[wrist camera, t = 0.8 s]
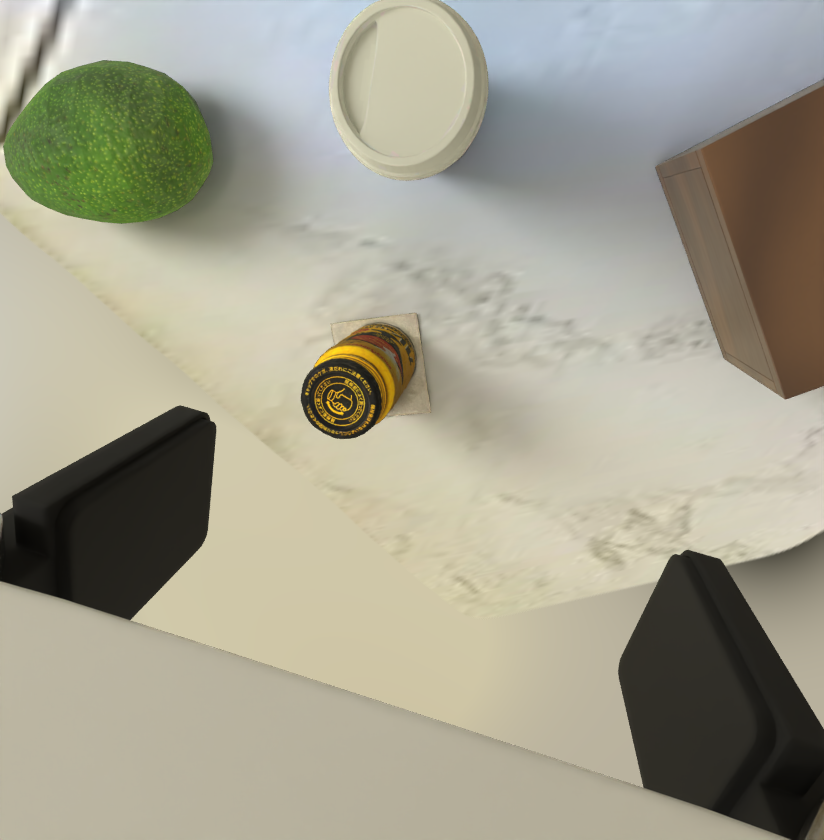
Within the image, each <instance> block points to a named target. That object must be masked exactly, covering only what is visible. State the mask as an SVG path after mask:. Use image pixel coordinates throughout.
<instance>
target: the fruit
mask: <svg viewBox="0 0 824 840" xmlns="http://www.w3.org/2000/svg"><path fill="white" fill-rule="evenodd" d="M3 148H4V155H5V161H6V166H7V168H8V170H9V172H10V174H11V176H12V178H13V179H14V180H15V182H16V183H17V184H18V185H19V186H20V187H21V189H22V190H23V191H24V192H25V193H26V195H28V196H29V197H30V198H31V199H32V200H34V201H36V202H38V203H39V204H41V205H43V206H45V207H47V208H50V209H52V210H55V211H57V212H60V213H62V214H65V215H69V216H73V217H78V218H83V219H88V220H94V221H99V222H108V223H120V224H122V223H133V222H144V221H148V220H153V219H157V218H160V217H163V216H165V215H167V214H170V213H172V212H174V211H177V210H178V209H180V208H181V207H183V206H184V205H185V204H187V203H188V202H190V201H191V200H192V199H193V198H194V196H195V195H196V194H197V192H198V191H199V189H200V188H201V186H202V185H203V184H204V182H205V180H206V178H207V177H208V175H209V173H210V170H211V167H212V164H213V154H212V146H211V140H210V134H209V131H208V129H207V126H206V124H205V121H204V119H203V117H202V114H201V112H200V110H199V108H198V106H197V103H196V101H195V100H194V99H193V98H192V96H191V95H190V94H189V93H188V92H187V91H186V90H185V89H184V87H183V86H181V85H180V84H179V83H177V82H176V81H174V80H173V79H172V78H170V77H169V76H168V75H166V74H164V73H162V72H159V71H156V70H153V69H150V68H147V67H145V66H141V65H138V64H134V63H130V62H122V61H107V60H103V61H99V62H95V63H91V64H87V65H83V66H79V67H76V68H73V69H70V70H67V71H64V72H61V73H60V74H59V75H57V76H56V77H55V78H53V79H52V80H50V81H49V82H48V83H46V84H45V85H44V86H43V87H42V88H41V90H40V91H39V92H38V93H37V94H36V95H35V96H34V97H33V99H32V100H31V101H30V102H29V104H28V105H27V106H26V107H25V109H24V110H23V111H22V113H21V114H20V115H19V117H18V118H17V119H16V121H15V122H14V124H13V125H12V127H11V128H10V130H9V132H8V134H7V136H6V140H5V143H4V146H3Z"/></svg>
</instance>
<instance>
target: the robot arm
mask: <svg viewBox="0 0 824 840" xmlns="http://www.w3.org/2000/svg"><path fill="white" fill-rule="evenodd" d="M215 439H216V425H215V423H214V422H212V421H210V417H209V415H208V414H207V413H205V412H201V411H198V410H194V409H191V408H188V407H184V406H177V407H175V408H173V409H171V410H169V411H167V412H165V413H164V414H162V415H160V416H158V417H156V418H154V419H153V420H151V421H149V422H147V423H146V424H143V425H142V426H140V427H138V428H136V429H135V430H133V431H131V432H129V433H127V434H125V435H123V436H122V437H120V438H118V439H116V440H114V441H112V442H111V443H109V444H107V445H105V446H104V447H101V448H100V449H98V450H96V451H94V452H92V453H90V454H89V455H87V456H85V457H83V458H81V459H79V460H78V461H76V462H74V463H72V464H71V465H69V466H67V467H65V468H63V469H61V470H59V471H57V472H56V473H54V474H52V475H50V476H48V477H46V478H45V479H43V480H41V481H39V482H37V483H36V484H34V485H32V486H30V487H28V488H26V489H25V490H23V491H21V492H19V493H17V494H15V495H14V496H12V500H13V508H11V509H9V510H8V511H6V512H4V513H3V514H1V513H0V840H824V729H823V727H822V726H821V724H820V722H819V721H818V719H817V717H816V716H815V714H814V712H813V711H812V709H811V707H810V706H809V704H808V702H807V701H806V699H805V697H804V696H803V694H802V693H801V691H800V689H799V688H798V686H797V684H796V683H795V681H794V679H793V678H792V676H791V674H790V673H789V671H788V669H787V668H786V666H785V664H784V663H783V661H782V659H781V658H780V656H779V654H778V653H777V651H776V650H775V648H774V646H773V645H772V643H771V641H770V640H769V638H768V636H767V635H766V633H765V631H764V630H763V628H762V626H761V625H760V623H759V622H758V620H757V618H756V617H755V615H754V613H753V612H752V610H751V608H750V607H749V605H748V603H747V602H746V600H745V599H744V597H743V595H742V593H741V592H740V590H739V588H738V587H737V585H736V584H735V582H734V580H733V579H732V577H731V575H730V574H729V572H728V570H727V569H726V567H725V565H724V564H723V562H722V561H721V560H720V559H718V558H714V557H711V556H707V555H704V554H700V553H697V552H693V551H690V550H686V551H684V552H683V553H682V554H681V555H677V554H675V555H673V556H672V557H671V558H670V559H669V561H668V563H667V565H666V567H665V569H664V571H663V573H662V575H661V577H660V579H659V581H658V583H657V585H656V587H655V589H654V591H653V593H652V595H651V597H650V600H649V602H648V604H647V605H646V607H645V610H644V612H643V614H642V616H641V618H640V620H639V622H638V624H637V626H636V628H635V630H634V632H633V634H632V636H631V638H630V640H629V642H628V644H627V646H626V648H625V650H624V652H623V654H622V657H621V659H620V663H619V670H618V674H619V680H620V685H621V689H622V694H623V698H624V702H625V707H626V712H627V716H628V720H629V725H630V729H631V733H632V738H633V743H634V747H635V751H636V756H637V760H638V765H639V769H640V774H641V778H642V782H643V787H644V788H642V787H639V786H636V785H633V784H630V783H627V782H624V781H621V780H618V779H615V778H612V777H609V776H606V775H603V774H600V773H597V772H594V771H591V770H588V769H585V768H582V767H579V766H576V765H573V764H570V763H567V762H564V761H561V760H558V759H555V758H552V757H549V756H546V755H543V754H540V753H536V752H534V751H531V750H528V749H525V748H522V747H519V746H516V745H512V744H509V743H506V742H503V741H500V740H497V739H494V738H491V737H488V736H484V735H482V734H479V733H476V732H473V731H469V730H466V729H463V728H460V727H457V726H454V725H451V724H448V723H445V722H442V721H439V720H436V719H433V718H430V717H426V716H424V715H421V714H417V713H414V712H411V711H408V710H405V709H402V708H399V707H396V706H392V705H390V704H387V703H384V702H381V701H378V700H374V699H372V698H368V697H365V696H362V695H359V694H356V693H353V692H350V691H347V690H344V689H341V688H338V687H335V686H332V685H328V684H325V683H322V682H319V681H316V680H313V679H310V678H307V677H304V676H301V675H298V674H295V673H291V672H289V671H285V670H282V669H279V668H276V667H273V666H270V665H267V664H264V663H261V662H258V661H255V660H252V659H249V658H245V657H242V656H239V655H236V654H233V653H230V652H227V651H224V650H221V649H218V648H215V647H212V646H208V645H205V644H202V643H199V642H196V641H193V640H190V639H186V638H183V637H180V636H177V635H174V634H171V633H168V632H164V631H161V630H158V629H155V628H152V627H149V626H146V625H143V624H140V623H137V622H133V621H130V620H131V619H132V617H134V616H135V615H136V613H137V612H138V611H139V610H140V609H141V608H142V607H143V606H144V605H145V604H146V603H147V602H148V601H149V600H150V599H151V598H152V597H153V596H154V595H155V594H156V593H157V592H158V591H159V590H160V589H161V588H162V586H164V584H165V583H166V582H167V581H168V580H169V579H170V578H171V577H172V576H173V575H174V574H175V573H176V572H177V571H178V570H179V569H180V568H181V567H182V566H183V565H184V564H185V563H186V562H187V561H188V560H189V559H190V558H191V557H192V556H193V555H194V553H195V552H196V551H197V550H198V549H199V548H200V547H201V546H202V544H203V542H204V541H205V538H206V535H207V531H208V521H209V510H210V498H211V486H212V474H213V463H214V451H215Z"/></svg>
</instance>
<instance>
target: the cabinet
mask: <svg viewBox="0 0 824 840" xmlns="http://www.w3.org/2000/svg"><path fill="white" fill-rule="evenodd" d="M656 170H657V173H658V176H659V179H660V182H661V184H662V187H663V190H664V193H665V196H666V198H667V201H668V204H669V207H670V209H671V212H672V215H673V218H674V221H675V223H676V226H677V229H678V232H679V234H680V237H681V240H682V243H683V246H684V248H685V251H686V254H687V257H688V259H689V262H690V265H691V268H692V271H693V273H694V276H695V279H696V282H697V284H698V287H699V290H700V293H701V296H702V298H703V301H704V304H705V307H706V309H707V312H708V315H709V318H710V321H711V323H712V326H713V329H714V332H715V334H716V337H717V340H718V343H719V346H720V348H721V351H722V354H723V357H724V359H725V360H727V361H728V362H730V363H731V364H733V365H734V366H736V367H737V368H739V369H740V370H742V371H743V372H745V373H746V374H748V375H749V376H751V377H752V378H754V379H755V380H757V381H758V382H760V383H761V384H763V385H764V386H766V387H767V388H769V389H770V390H772V391H773V392H775V393H776V394H778V395H779V396H781V397H782V398H784V399H789V398H791V397H794V396H797V395H800V394H803V393H805V392H808V391H811V390H814V389H817V388H819V387H822V386H824V79H823V80H821V81H819V82H817V83H815V84H813V85H811V86H809V87H807V88H806V89H804V90H802V91H800V92H798V93H796V94H794V95H792V96H790V97H788V98H786V99H784V100H782V101H780V102H779V103H777V104H775V105H773V106H771V107H769V108H767V109H765V110H763V111H761V112H759V113H757V114H755V115H753V116H751V117H750V118H748V119H746V120H744V121H742V122H740V123H738V124H736V125H734V126H732V127H730V128H728V129H726V130H724V131H722V132H721V133H719V134H717V135H715V136H713V137H711V138H709V139H707V140H705V141H703V142H701V143H699V144H697V145H695V146H694V147H692V148H690V149H688V150H686V151H684V152H682V153H680V154H678V155H676V156H674V157H672V158H670V159H668V160H666V161H665V162H663V163H661V164H659V165H657V166H656Z"/></svg>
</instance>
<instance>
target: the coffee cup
mask: <svg viewBox="0 0 824 840" xmlns="http://www.w3.org/2000/svg"><path fill="white" fill-rule="evenodd" d="M329 97H330V106H331V111H332V115H333V119H334V122H335V124H336V127H337V129H338V132H339V134H340V136H341V138H342V139H343V141H344V143H345V144H346V146H347V147H348V149H349V150H350V151H351V153H352V154H353V155H354V156H355V157H356V158H357V159H358V160H359V161H360V162H361V163H362V164H363V165H364V166H366V167H367V168H368V169H370V170H372V171H373V172H375V173H377V174H379V175H381V176H384V177H387V178H391V179H395V180H405V181H410V180H419V179H424V178H427V177H430V176H433V175H435V174H437V173H439V172H441V171H443V170H445V169H446V168H448V167H449V166H450V165H452V164H453V163H455V162H456V161H457V160H459V159H460V158H461V157H462V156H463V154H464V153H465V152H466V151H467V149H468V147H469V146H470V144H471V143H472V141H473V140H474V138H475V136H476V134H477V132H478V130H479V128H480V126H481V123H482V120H483V117H484V114H485V110H486V105H487V99H488V71H487V65H486V60H485V57H484V53H483V50H482V48H481V45H480V43H479V41H478V39H477V37H476V35H475V33H474V32H473V30H472V29H471V27H470V26H469V25H468V23H467V22H466V21H465V20H464V19H463V18H462V17H461V16H460V15H459V14H458V13H457V12H456V11H455V10H453V9H452V8H451V7H449V6H448V5H446V4H445V3H443V2H441V1H439V0H379V1H377V2H375V3H373V4H371V5H370V6H368V7H367V8H365V9H364V10H363V11H362V12H361V13H359V14H358V15H357V16H356V17H355V18H354V19H353V21H352V22H351V23H350V24H349V26H348V27H347V28H346V30H345V31H344V33H343V35H342V37H341V39H340V40H339V43H338V45H337V47H336V50H335V53H334V57H333V61H332V66H331V71H330V80H329Z"/></svg>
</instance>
